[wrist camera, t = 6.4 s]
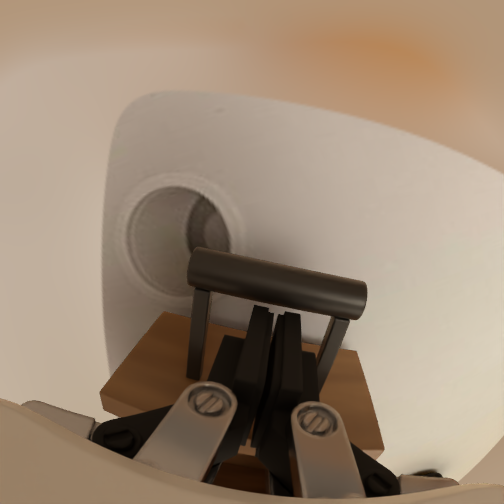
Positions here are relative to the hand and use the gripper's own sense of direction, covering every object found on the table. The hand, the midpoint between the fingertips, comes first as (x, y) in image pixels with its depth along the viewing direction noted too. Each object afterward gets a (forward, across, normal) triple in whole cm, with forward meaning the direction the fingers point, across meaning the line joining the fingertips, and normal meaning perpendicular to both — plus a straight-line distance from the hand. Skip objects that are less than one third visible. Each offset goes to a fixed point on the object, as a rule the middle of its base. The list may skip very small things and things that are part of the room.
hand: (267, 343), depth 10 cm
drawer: (+5, 0, +7) cm, 8 cm away
